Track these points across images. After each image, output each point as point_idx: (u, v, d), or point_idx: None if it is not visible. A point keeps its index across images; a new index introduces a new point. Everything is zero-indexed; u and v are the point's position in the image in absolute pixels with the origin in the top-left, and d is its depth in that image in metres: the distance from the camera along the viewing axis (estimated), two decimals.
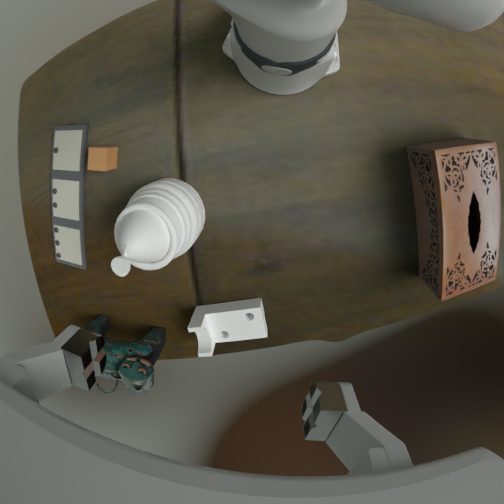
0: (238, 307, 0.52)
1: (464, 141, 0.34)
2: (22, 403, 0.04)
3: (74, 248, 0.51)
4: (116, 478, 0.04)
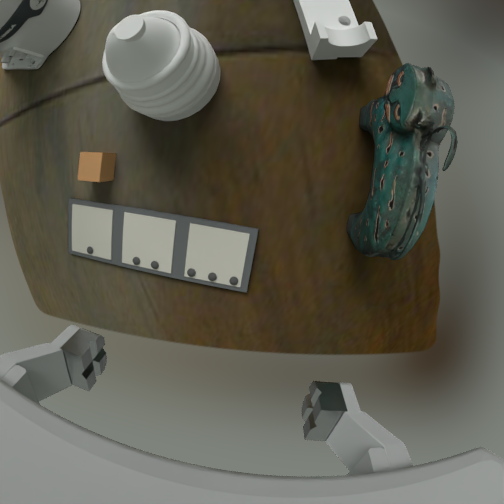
0: (298, 4, 0.26)
1: None
2: (22, 403, 0.04)
3: (220, 241, 0.37)
4: (116, 478, 0.04)
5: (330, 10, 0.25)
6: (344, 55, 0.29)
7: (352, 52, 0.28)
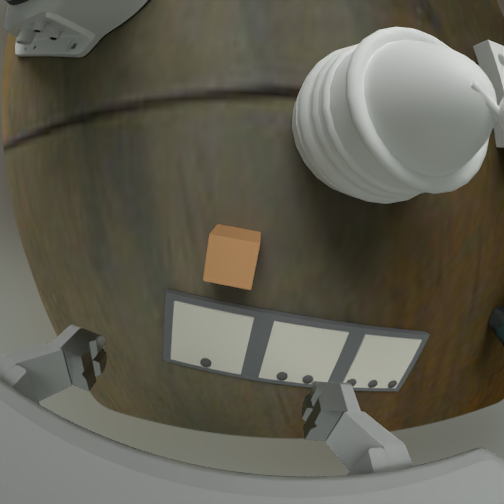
0: (493, 73, 0.17)
1: None
2: (22, 403, 0.04)
3: (392, 350, 0.28)
4: (116, 478, 0.04)
5: None
6: None
7: None
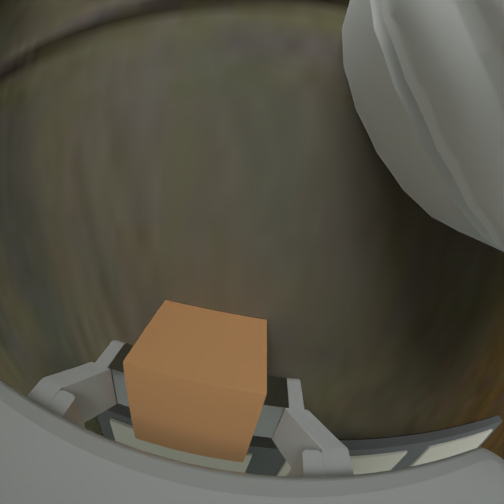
0: None
1: None
2: (22, 403, 0.04)
3: (456, 451, 0.13)
4: (116, 478, 0.04)
5: None
6: None
7: None
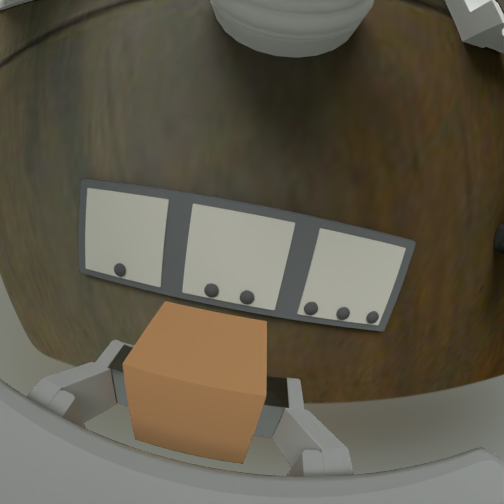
0: None
1: None
2: (22, 403, 0.04)
3: (364, 259, 0.22)
4: (116, 478, 0.04)
5: None
6: (493, 47, 0.14)
7: None
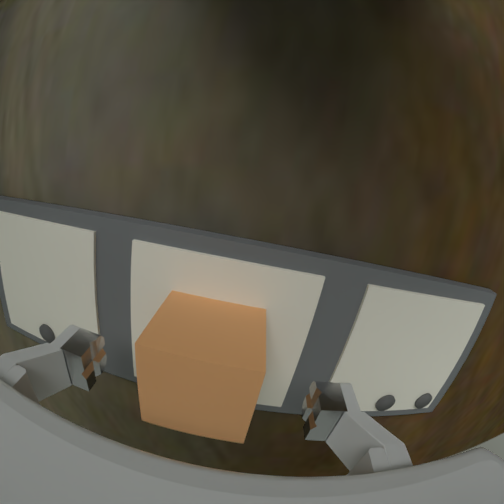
0: None
1: None
2: (22, 403, 0.04)
3: (430, 328, 0.12)
4: (116, 478, 0.04)
5: None
6: None
7: None
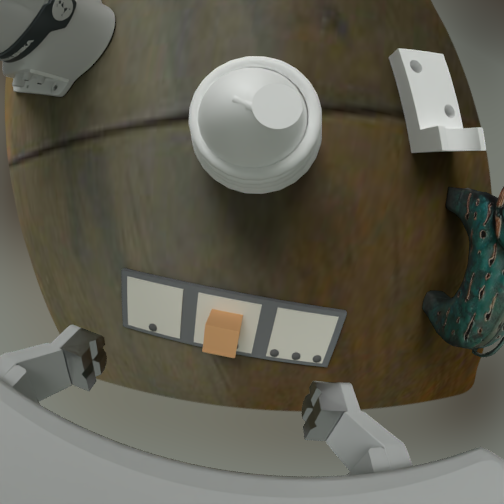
0: (404, 81, 0.25)
1: None
2: (22, 403, 0.04)
3: (308, 324, 0.35)
4: (116, 478, 0.04)
5: (437, 96, 0.24)
6: (443, 151, 0.27)
7: None
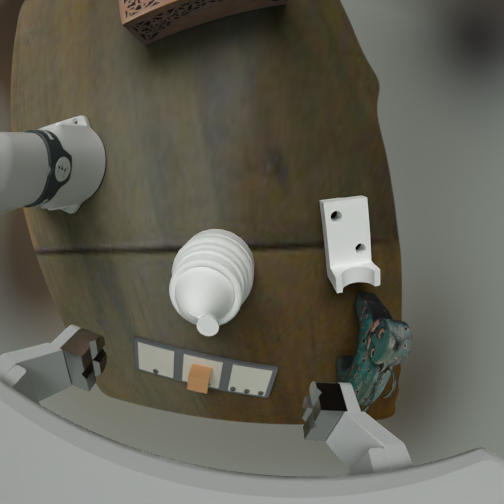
0: (325, 228, 0.43)
1: None
2: (22, 403, 0.04)
3: (253, 374, 0.53)
4: (116, 478, 0.04)
5: (351, 239, 0.42)
6: None
7: None
